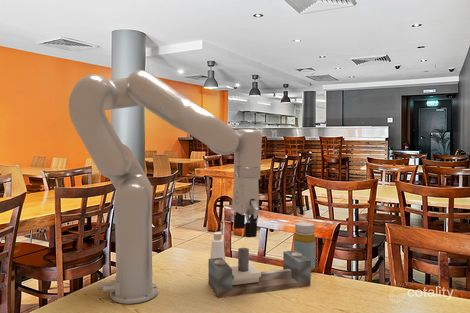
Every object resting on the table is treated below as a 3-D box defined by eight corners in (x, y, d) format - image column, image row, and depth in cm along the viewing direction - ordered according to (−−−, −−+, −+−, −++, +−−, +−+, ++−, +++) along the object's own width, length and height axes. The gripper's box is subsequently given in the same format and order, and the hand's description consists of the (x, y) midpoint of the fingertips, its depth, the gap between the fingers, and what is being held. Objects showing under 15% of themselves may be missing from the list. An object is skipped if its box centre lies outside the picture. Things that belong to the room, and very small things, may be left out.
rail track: (217, 298, 101) (217, 268, 101) (208, 284, 111) (208, 256, 110) (310, 285, 110) (311, 258, 110) (294, 273, 120) (294, 248, 119)
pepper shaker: (209, 262, 130) (209, 230, 129) (225, 262, 130) (225, 230, 130) (209, 267, 124) (209, 234, 124) (225, 267, 125) (226, 234, 124)
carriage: (233, 287, 104) (234, 254, 104) (226, 278, 111) (226, 247, 110) (260, 283, 107) (261, 251, 106) (251, 275, 113) (252, 244, 113)
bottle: (316, 273, 120) (317, 226, 120) (294, 272, 121) (295, 226, 120) (312, 265, 127) (313, 221, 127) (291, 265, 128) (292, 221, 127)
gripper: (225, 169, 114) (223, 225, 115) (245, 176, 98) (242, 241, 99) (248, 170, 117) (246, 225, 118) (271, 176, 100) (268, 240, 101)
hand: (244, 232), depth 108 cm, fingers open, 9 cm apart
